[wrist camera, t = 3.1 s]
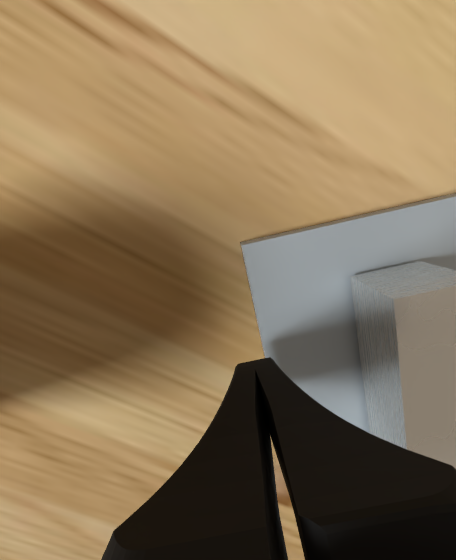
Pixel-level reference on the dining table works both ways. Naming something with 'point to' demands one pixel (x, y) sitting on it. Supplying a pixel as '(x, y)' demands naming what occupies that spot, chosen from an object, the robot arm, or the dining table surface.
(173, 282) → the dining table surface
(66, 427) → the dining table surface
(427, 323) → the latch bar
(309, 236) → the latch board
